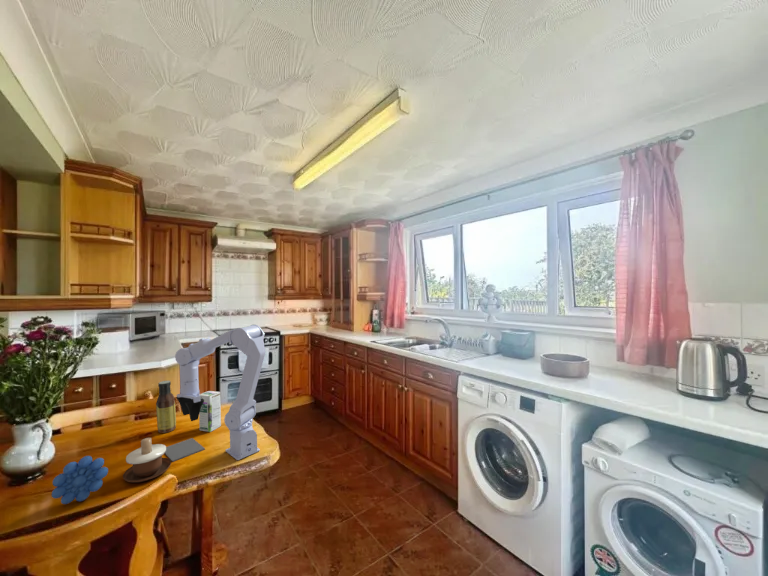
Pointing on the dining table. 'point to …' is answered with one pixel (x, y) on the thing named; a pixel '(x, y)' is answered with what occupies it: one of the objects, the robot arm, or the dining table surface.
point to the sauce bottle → (165, 408)
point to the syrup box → (210, 411)
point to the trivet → (183, 449)
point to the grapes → (79, 479)
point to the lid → (146, 452)
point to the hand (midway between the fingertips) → (190, 417)
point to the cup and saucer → (147, 470)
